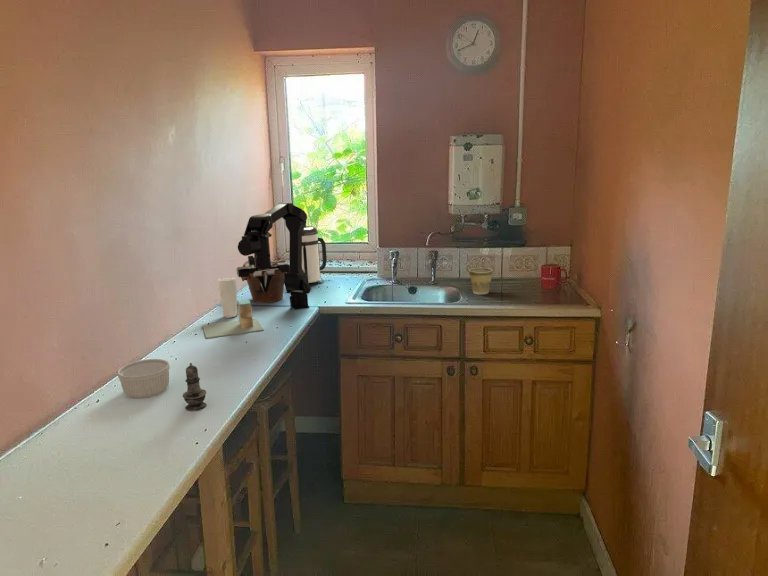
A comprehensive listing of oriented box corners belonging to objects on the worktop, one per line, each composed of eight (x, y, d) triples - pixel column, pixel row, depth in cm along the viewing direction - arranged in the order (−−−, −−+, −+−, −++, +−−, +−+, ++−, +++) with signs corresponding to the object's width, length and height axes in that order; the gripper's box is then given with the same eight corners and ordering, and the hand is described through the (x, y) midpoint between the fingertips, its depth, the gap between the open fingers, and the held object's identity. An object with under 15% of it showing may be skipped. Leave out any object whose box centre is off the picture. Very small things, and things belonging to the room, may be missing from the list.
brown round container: (241, 296, 263) (237, 257, 258) (286, 291, 269) (283, 253, 264) (245, 307, 246) (241, 265, 242) (293, 301, 252) (290, 260, 248)
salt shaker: (198, 400, 156) (192, 357, 153) (212, 404, 153) (207, 361, 150) (179, 408, 152) (173, 364, 149) (193, 413, 148) (188, 368, 145)
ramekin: (134, 405, 155) (131, 380, 153) (112, 392, 163) (108, 369, 162) (181, 388, 164) (178, 365, 163) (157, 377, 173) (154, 355, 171)
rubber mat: (256, 319, 228) (256, 318, 228) (263, 330, 213) (263, 329, 213) (202, 326, 221) (202, 325, 221) (206, 338, 207) (206, 337, 206)
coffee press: (324, 286, 276) (319, 222, 269) (289, 287, 276) (284, 223, 269) (327, 278, 293) (324, 217, 286) (295, 279, 293) (291, 218, 286)
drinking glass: (234, 318, 229) (231, 280, 226) (218, 318, 230) (214, 280, 227) (241, 314, 236) (238, 277, 232) (226, 313, 237) (222, 277, 234)
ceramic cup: (482, 296, 247) (482, 273, 245) (464, 293, 255) (464, 270, 252) (501, 291, 256) (501, 268, 253) (483, 287, 263) (483, 265, 261)
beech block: (250, 322, 222) (248, 299, 220) (253, 326, 217) (250, 303, 215) (239, 324, 221) (237, 300, 219) (242, 328, 215) (239, 304, 213)
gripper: (282, 245, 226) (286, 284, 229) (232, 249, 219) (236, 290, 223) (289, 249, 215) (292, 291, 219) (236, 254, 209) (240, 297, 213)
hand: (265, 292), depth 219 cm, fingers closed
